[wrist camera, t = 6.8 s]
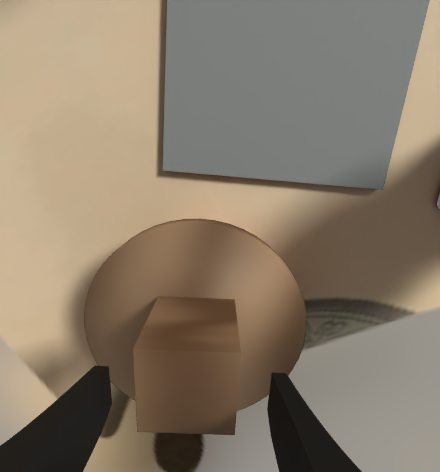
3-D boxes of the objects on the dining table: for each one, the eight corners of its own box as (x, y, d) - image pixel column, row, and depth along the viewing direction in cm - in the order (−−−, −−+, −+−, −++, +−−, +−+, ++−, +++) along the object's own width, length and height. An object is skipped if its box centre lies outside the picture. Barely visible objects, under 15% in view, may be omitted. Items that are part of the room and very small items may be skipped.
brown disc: (314, 223, 13) (368, 256, 8) (288, 405, 16) (317, 504, 12) (83, 213, 13) (5, 240, 8) (101, 399, 16) (51, 497, 11)
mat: (443, -84, 13) (453, -96, 13) (377, 189, 17) (382, 189, 16) (172, -115, 13) (170, -129, 12) (164, 170, 16) (162, 170, 16)
